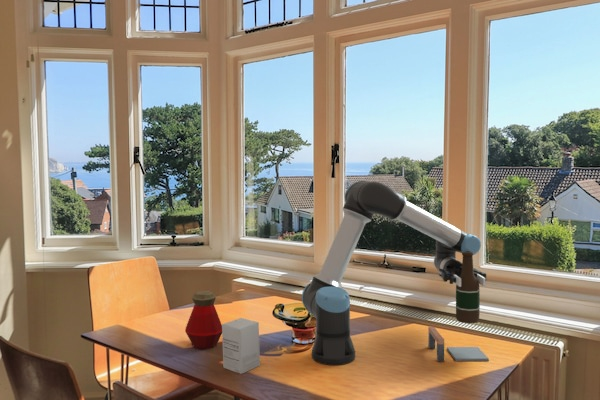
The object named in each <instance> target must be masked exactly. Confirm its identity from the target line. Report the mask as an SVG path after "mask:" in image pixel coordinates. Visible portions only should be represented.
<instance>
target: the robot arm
mask: <svg viewBox="0 0 600 400" xmlns="http://www.w3.org/2000/svg"><path fill="white" fill-rule="evenodd" d="M342 212H343V214H344V215H343V217H342V220H341V222H340V224H339V227H338V229H337V231H336V234H335V236H334V239H333V240H332V243H331V245H330V247H329V250H328V252H327V255H326V257H325V259H324V262H323V265H322V266H321V269H320V271H319V273H317V274H315V275H313V277H312V279H311V282H309V283H308V284H307V285H305V286H304V288H303V290H302V293H301V301H302V304H303V307H304V309H305V310H306V311H307V312H308V313H309V314H311V315H312V316H313V317H314V318H315V322H316V328H315V329H316V331H315V332H316V334H315V339H314V343H313V346H312V349H311V359H312V360H313V361H315V362H316V363H319V364H322V365H328V366H339V365H346V364H349V363H351V362H353V361H354V360H356V350H355V346H354V342H353V340H352V337H351V309H350V307H351V300H350V294H349V292H348V291H347V290H346V289H344V288H343V286H342V283H341V282H342V280H343V278H344V275H345V273H346V271H347V269H348V266H349V263H350V261H351V259H352V257H353V254H354V251H355V250H356V247H357V244H358V243H359V240H360V237H361V235H362V233H363V231H364V228H365V226H366V224H368V223H370V222H372V220H373V218H374V215H379V216H382V217H385V218H387V219H390V220H392V221H394V220H397V221H400V222H401V223H402V224H405V225H406V226H409V227H411V228H412V229H415V230H417V231H418V232H421V234H424V235H426V236H428V237H430V238H432V239H434V240H435V248H436V249H435V256H434V259H433V265H434V267H435V268H436V270H437V271H438V273H439V274H438V276H439V277H440V278H441V279H442V280H443V282H448V281H449V284H450V285H453V284H455V286H456V285H458V286H459V287H461V278H460V276H461V272H462V262H461V261H460V260H458V259H457V258H456V256H457V255H456V254H457V253H460V254H462V252H464V251H471V252H473V256H474V255H477V253H478V252H479V251H480V250H481V246H482V243H481V240H480V238H479V237H478V236H477V235H473V234H472V233H467V232H466V231H463V230H462V229H460V228H457V227H456V226H455V225H453V224H451V223H449V222H446V221H444V220H443V219H442V218H440V217H438V216H436V215H434V214H432V213H430V212H428V211H427V210H425V209H423V208H421V207H419V206H417V205H415V204H414V203H412V202H410V201H408V200H407V197H406V196H405V195H403V194H401V193H400V192H398V191H396V190H395V189H393V188H392V187H390V186H388V185H386V184H385V183H382V182H380V181H367V180H359V181H355V182H353V183H351V184H350V185H349V186H348V187H347V188H346V190H345V192H344V205H343V208H342ZM473 271H474V275H475V277H476V278H477V280H478V282H479V285H480V286H482V287H486V286H487V285H486V283H487V282H486V281H487V273H486V272H482V271H481V270H478V269H477V268H474V267H473Z"/></svg>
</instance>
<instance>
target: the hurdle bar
mask: <svg viewBox="0 0 600 400" xmlns="http://www.w3.org/2000/svg"><path fill="white" fill-rule="evenodd" d="M427 328H428V331H429V332H430V334H431V335H432V336H433V338H434V339H435V343H436V344H437V343H438V344H444V345H445V339H444V338H443V336H442V335H441V333H440V332H439V331H438V330H437V329H436V328H435V326H428V327H427ZM428 331H427V332H428Z"/></svg>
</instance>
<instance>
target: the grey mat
mask: <svg viewBox="0 0 600 400" xmlns="http://www.w3.org/2000/svg"><path fill="white" fill-rule="evenodd" d="M446 350H447V352H448V353H449V355H451V357H452V358H453V359H454V361H455V362H489V361H490V360H489V359H490V358H489V357H488V356H487V355H486V354H485V352H483V351H482V350H481V348H480V347H479V346H446Z"/></svg>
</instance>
